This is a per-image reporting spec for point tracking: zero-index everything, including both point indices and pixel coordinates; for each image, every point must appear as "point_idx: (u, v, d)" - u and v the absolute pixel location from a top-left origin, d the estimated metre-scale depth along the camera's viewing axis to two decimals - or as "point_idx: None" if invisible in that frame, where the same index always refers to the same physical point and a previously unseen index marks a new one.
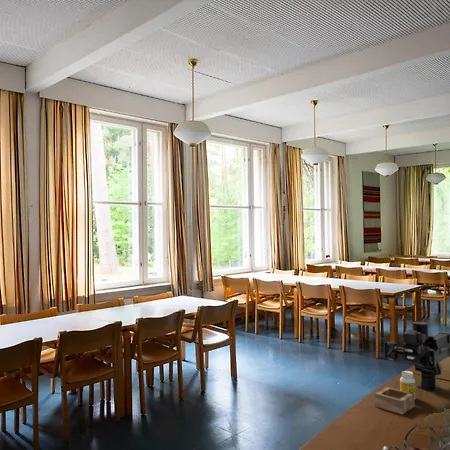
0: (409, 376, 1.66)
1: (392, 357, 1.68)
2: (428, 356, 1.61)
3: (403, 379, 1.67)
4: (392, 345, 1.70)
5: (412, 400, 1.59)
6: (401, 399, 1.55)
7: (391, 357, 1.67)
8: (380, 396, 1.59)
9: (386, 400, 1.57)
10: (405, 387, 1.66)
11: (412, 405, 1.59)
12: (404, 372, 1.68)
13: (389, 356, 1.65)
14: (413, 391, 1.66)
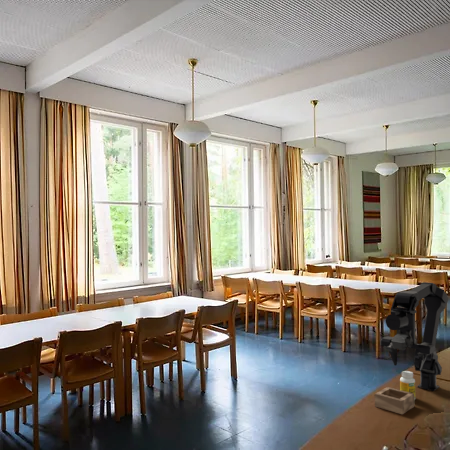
0: (409, 376, 1.66)
1: (396, 353, 1.72)
2: None
3: (403, 379, 1.67)
4: (389, 349, 1.70)
5: (412, 400, 1.59)
6: (401, 399, 1.55)
7: (396, 356, 1.72)
8: (380, 396, 1.59)
9: (386, 400, 1.57)
10: (405, 387, 1.66)
11: (412, 405, 1.59)
12: (404, 372, 1.68)
13: (396, 362, 1.71)
14: (413, 391, 1.66)
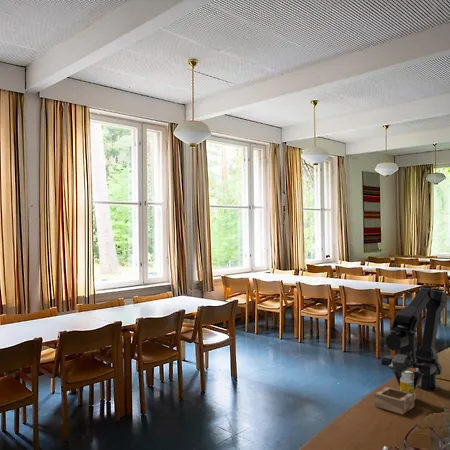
0: (409, 376, 1.66)
1: (401, 373, 1.71)
2: None
3: (403, 379, 1.67)
4: (394, 369, 1.69)
5: (412, 400, 1.59)
6: (401, 399, 1.55)
7: (401, 376, 1.71)
8: (380, 396, 1.59)
9: (386, 400, 1.57)
10: (405, 387, 1.66)
11: (412, 405, 1.59)
12: (404, 372, 1.68)
13: None
14: (413, 391, 1.66)
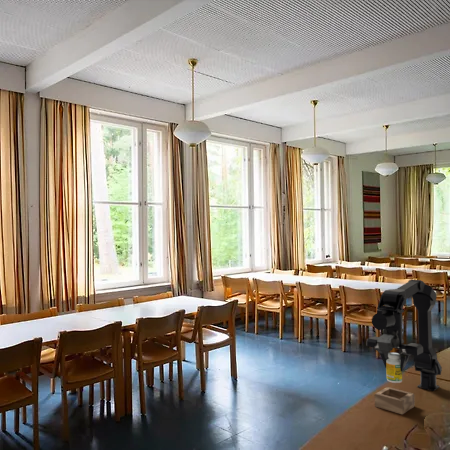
0: (396, 357, 1.58)
1: (387, 355, 1.64)
2: None
3: (389, 361, 1.59)
4: (380, 350, 1.62)
5: (412, 400, 1.59)
6: (401, 399, 1.55)
7: (387, 358, 1.63)
8: (380, 396, 1.59)
9: (386, 400, 1.57)
10: (391, 368, 1.58)
11: (412, 405, 1.59)
12: (390, 353, 1.61)
13: None
14: (400, 373, 1.58)
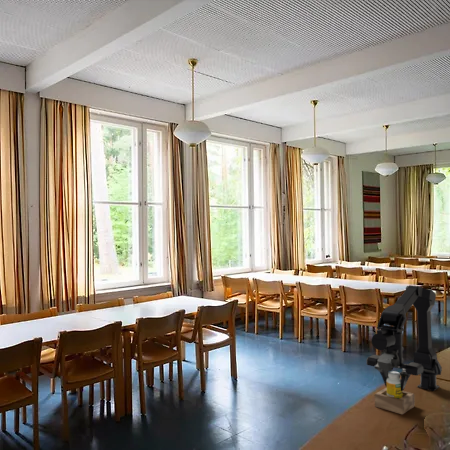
0: (396, 376, 1.58)
1: (387, 373, 1.63)
2: None
3: (390, 380, 1.59)
4: (380, 369, 1.61)
5: (412, 400, 1.59)
6: (401, 399, 1.55)
7: (387, 377, 1.63)
8: (380, 396, 1.59)
9: (386, 400, 1.57)
10: (391, 388, 1.58)
11: (412, 405, 1.59)
12: (391, 372, 1.61)
13: None
14: (400, 392, 1.58)
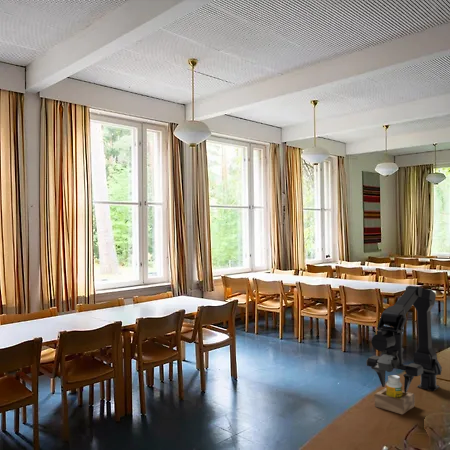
0: (396, 380, 1.58)
1: (384, 374, 1.64)
2: None
3: (389, 383, 1.59)
4: (376, 370, 1.62)
5: (412, 400, 1.59)
6: (401, 399, 1.55)
7: (384, 377, 1.64)
8: (380, 396, 1.59)
9: (386, 400, 1.57)
10: (391, 391, 1.58)
11: (412, 405, 1.59)
12: (391, 376, 1.61)
13: (384, 383, 1.63)
14: (400, 396, 1.58)
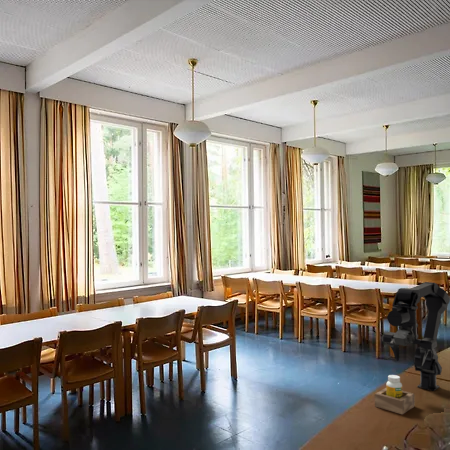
0: (396, 380, 1.58)
1: (398, 348, 1.74)
2: None
3: (389, 383, 1.59)
4: (391, 344, 1.72)
5: (412, 400, 1.59)
6: (401, 399, 1.55)
7: (398, 352, 1.73)
8: (380, 396, 1.59)
9: (386, 400, 1.57)
10: (391, 391, 1.58)
11: (412, 405, 1.59)
12: (391, 376, 1.61)
13: (398, 357, 1.73)
14: (400, 396, 1.58)
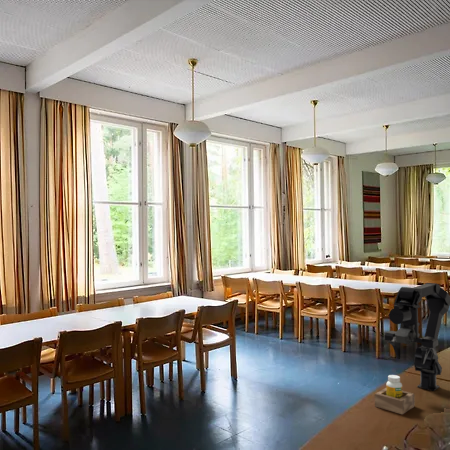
0: (396, 380, 1.58)
1: (399, 347, 1.74)
2: None
3: (389, 383, 1.59)
4: (392, 343, 1.72)
5: (412, 400, 1.59)
6: (401, 399, 1.55)
7: (399, 350, 1.74)
8: (380, 396, 1.59)
9: (386, 400, 1.57)
10: (391, 391, 1.58)
11: (412, 405, 1.59)
12: (391, 376, 1.61)
13: (399, 356, 1.73)
14: (400, 396, 1.58)
